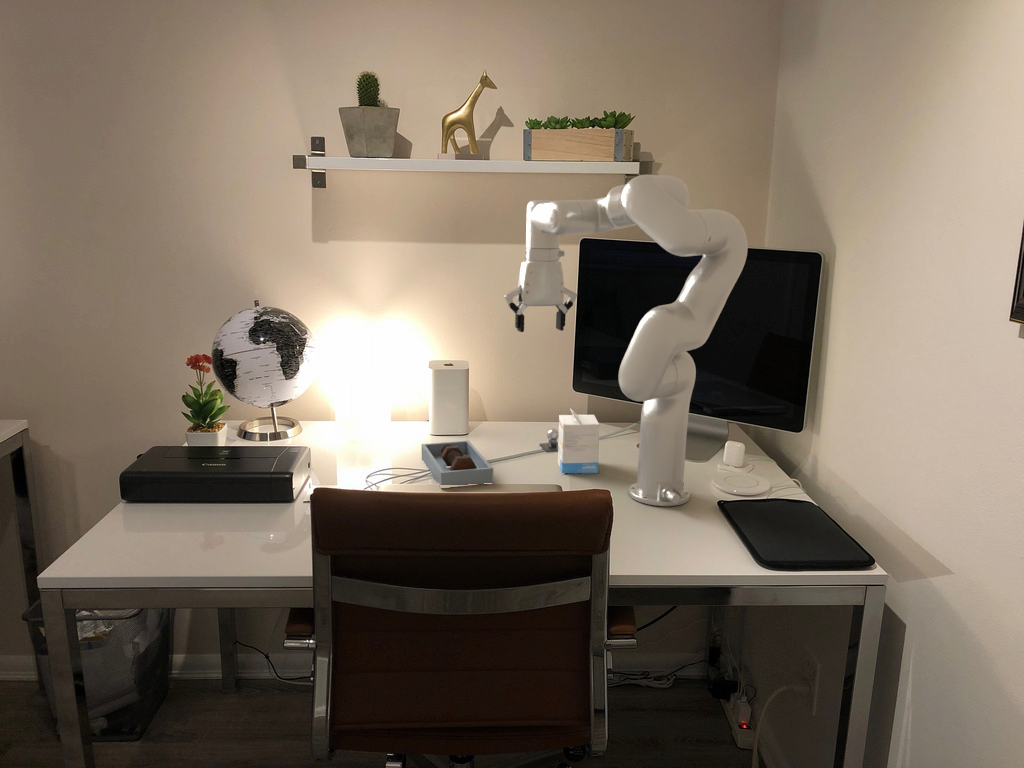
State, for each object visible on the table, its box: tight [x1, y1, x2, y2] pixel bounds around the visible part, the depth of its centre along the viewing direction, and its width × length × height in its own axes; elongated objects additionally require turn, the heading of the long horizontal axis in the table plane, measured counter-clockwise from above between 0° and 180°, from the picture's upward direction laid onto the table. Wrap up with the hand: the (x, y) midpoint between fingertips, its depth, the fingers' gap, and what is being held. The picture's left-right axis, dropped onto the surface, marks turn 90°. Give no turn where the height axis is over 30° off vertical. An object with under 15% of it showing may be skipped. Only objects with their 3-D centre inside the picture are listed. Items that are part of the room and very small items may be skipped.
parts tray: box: [421, 440, 494, 485], centre depth 187 cm, size 20×11×4 cm, turn 18°
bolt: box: [441, 445, 477, 471], centre depth 186 cm, size 6×5×15 cm
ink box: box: [557, 408, 600, 475], centre depth 189 cm, size 9×8×13 cm
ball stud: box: [539, 428, 559, 453], centre depth 204 cm, size 5×5×5 cm
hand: (540, 330), depth 192 cm, fingers open, 9 cm apart
